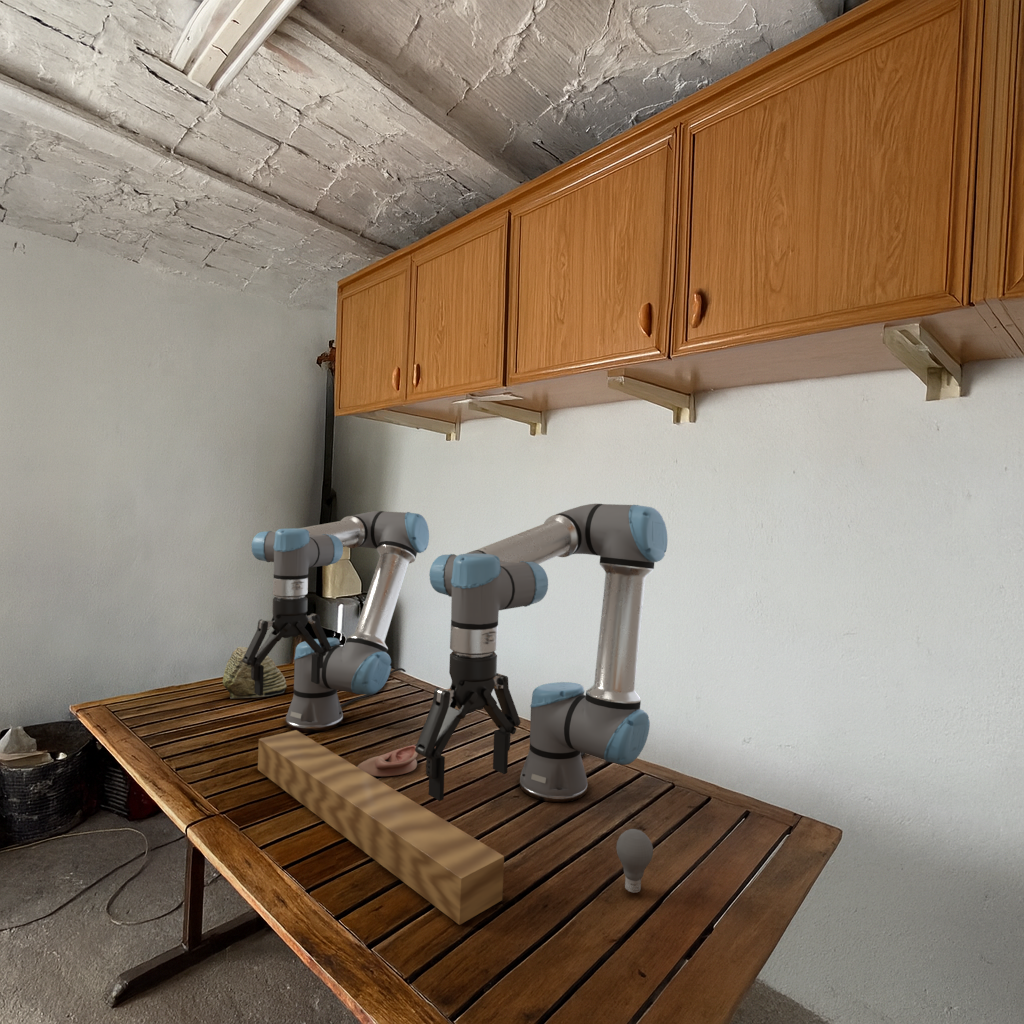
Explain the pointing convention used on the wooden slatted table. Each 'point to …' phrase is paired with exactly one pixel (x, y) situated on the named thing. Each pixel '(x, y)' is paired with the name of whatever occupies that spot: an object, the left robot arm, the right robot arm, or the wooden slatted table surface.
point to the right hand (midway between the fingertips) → (469, 783)
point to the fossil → (240, 677)
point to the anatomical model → (391, 762)
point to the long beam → (387, 826)
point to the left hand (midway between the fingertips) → (287, 688)
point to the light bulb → (634, 857)
